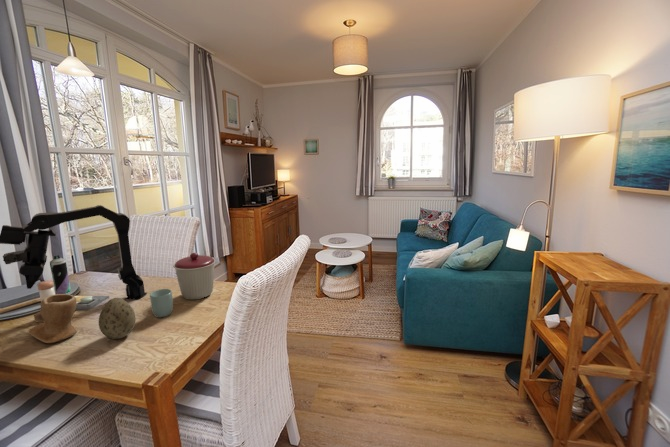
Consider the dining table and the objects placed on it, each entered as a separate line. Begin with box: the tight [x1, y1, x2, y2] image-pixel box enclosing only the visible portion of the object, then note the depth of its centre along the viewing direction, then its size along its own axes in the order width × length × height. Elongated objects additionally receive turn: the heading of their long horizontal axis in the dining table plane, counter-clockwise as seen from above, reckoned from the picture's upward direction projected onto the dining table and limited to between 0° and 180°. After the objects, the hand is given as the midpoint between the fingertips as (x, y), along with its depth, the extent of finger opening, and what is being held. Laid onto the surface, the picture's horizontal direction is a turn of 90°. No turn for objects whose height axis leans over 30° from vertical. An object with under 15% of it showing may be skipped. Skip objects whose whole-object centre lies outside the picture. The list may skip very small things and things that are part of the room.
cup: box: [149, 288, 174, 318], centre depth 126 cm, size 8×8×10 cm
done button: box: [80, 295, 93, 304], centre depth 133 cm, size 4×4×2 cm
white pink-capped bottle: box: [36, 280, 56, 302], centre depth 122 cm, size 5×5×12 cm
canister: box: [172, 252, 216, 301], centre depth 143 cm, size 18×18×21 cm
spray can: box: [49, 254, 72, 294], centre depth 141 cm, size 6×6×20 cm
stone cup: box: [28, 293, 77, 344], centre depth 111 cm, size 15×12×15 cm
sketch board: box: [74, 295, 110, 311], centre depth 136 cm, size 16×12×2 cm
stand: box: [33, 310, 44, 323], centre depth 124 cm, size 7×7×3 cm
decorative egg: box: [98, 297, 137, 340], centre depth 109 cm, size 11×11×15 cm
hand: (30, 284), depth 118 cm, fingers open, 9 cm apart
